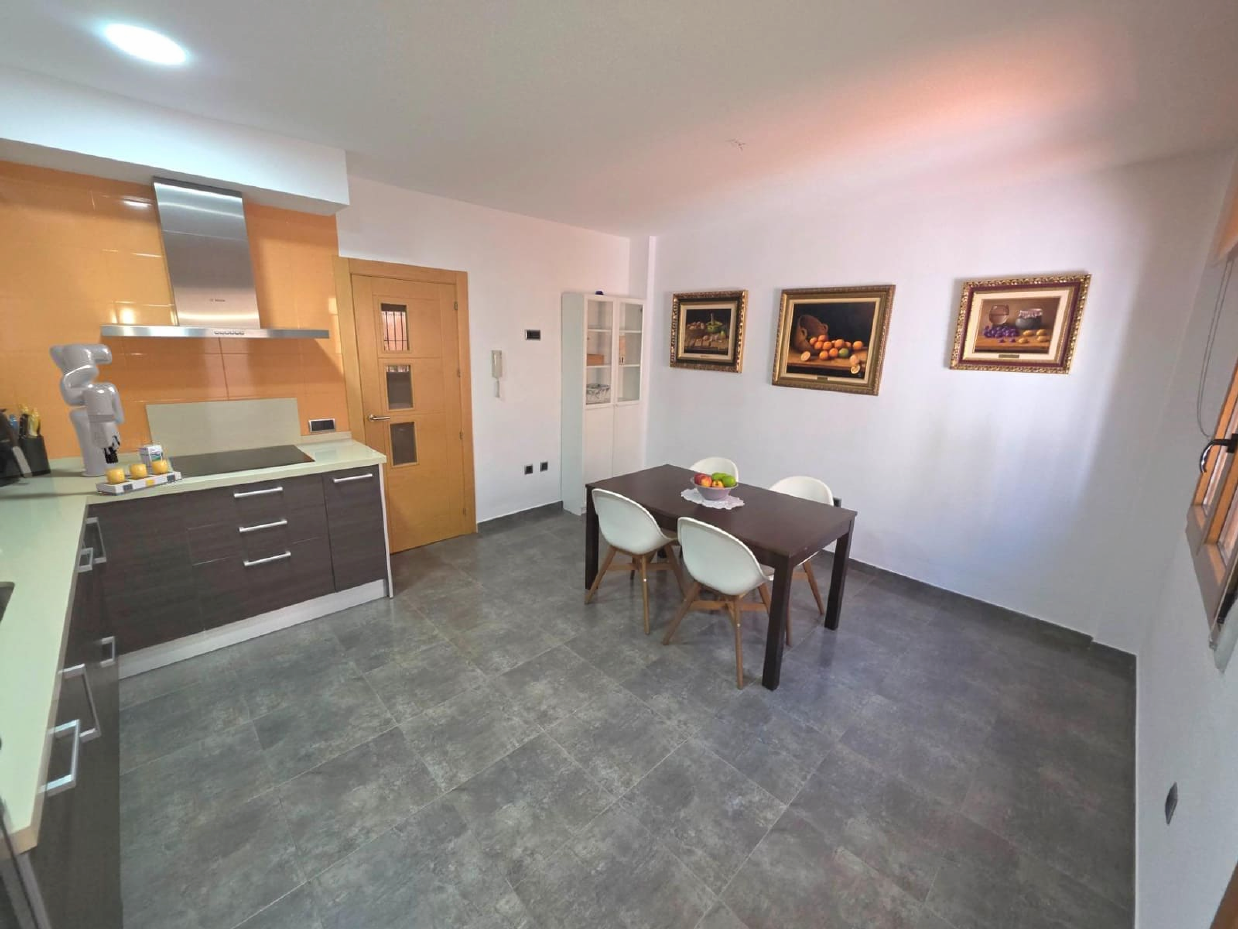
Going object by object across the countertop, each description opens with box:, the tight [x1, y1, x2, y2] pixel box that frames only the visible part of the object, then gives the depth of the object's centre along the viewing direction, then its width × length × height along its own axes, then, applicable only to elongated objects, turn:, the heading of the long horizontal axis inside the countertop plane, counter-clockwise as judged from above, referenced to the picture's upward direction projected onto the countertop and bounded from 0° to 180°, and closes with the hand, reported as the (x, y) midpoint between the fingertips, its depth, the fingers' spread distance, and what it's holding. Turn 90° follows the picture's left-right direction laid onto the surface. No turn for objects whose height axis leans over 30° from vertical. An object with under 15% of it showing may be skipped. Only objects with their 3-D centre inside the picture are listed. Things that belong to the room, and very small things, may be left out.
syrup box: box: [137, 444, 165, 473], centre depth 230 cm, size 6×6×14 cm
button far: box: [150, 459, 169, 476], centre depth 221 cm, size 5×5×6 cm
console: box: [95, 470, 183, 497], centre depth 214 cm, size 12×24×4 cm, turn 164°
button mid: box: [128, 463, 148, 480], centre depth 213 cm, size 5×5×6 cm
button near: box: [105, 467, 126, 485], centre depth 206 cm, size 5×5×6 cm
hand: (112, 462), depth 204 cm, fingers closed
